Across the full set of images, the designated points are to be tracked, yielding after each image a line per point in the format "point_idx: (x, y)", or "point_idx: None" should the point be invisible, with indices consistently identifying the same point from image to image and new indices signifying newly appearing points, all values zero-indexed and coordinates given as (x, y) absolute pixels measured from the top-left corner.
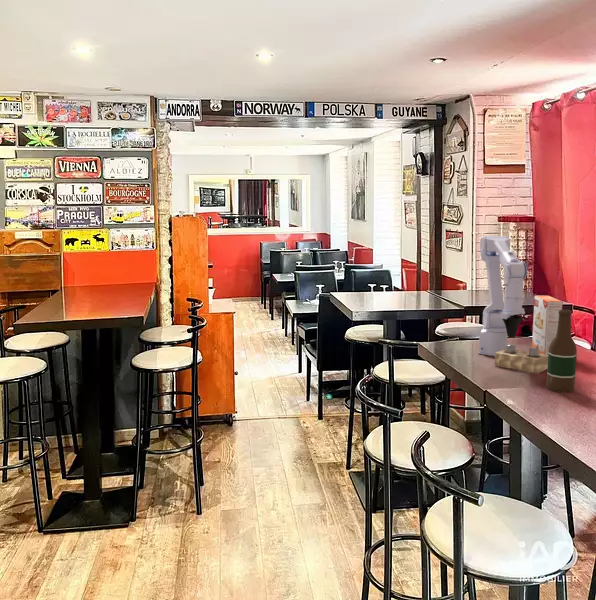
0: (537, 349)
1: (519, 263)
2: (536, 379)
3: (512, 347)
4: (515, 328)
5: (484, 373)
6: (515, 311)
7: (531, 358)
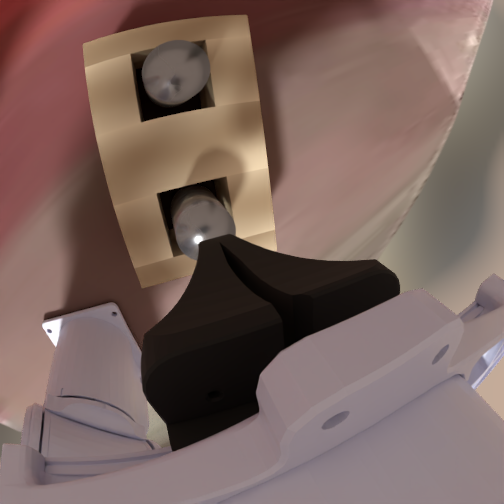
0: (184, 41)
1: None
2: (314, 11)
3: (221, 206)
4: (264, 255)
5: (369, 178)
6: (466, 383)
7: (245, 53)
